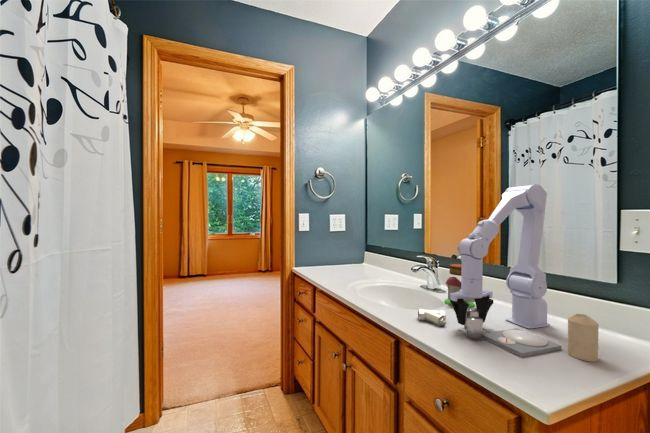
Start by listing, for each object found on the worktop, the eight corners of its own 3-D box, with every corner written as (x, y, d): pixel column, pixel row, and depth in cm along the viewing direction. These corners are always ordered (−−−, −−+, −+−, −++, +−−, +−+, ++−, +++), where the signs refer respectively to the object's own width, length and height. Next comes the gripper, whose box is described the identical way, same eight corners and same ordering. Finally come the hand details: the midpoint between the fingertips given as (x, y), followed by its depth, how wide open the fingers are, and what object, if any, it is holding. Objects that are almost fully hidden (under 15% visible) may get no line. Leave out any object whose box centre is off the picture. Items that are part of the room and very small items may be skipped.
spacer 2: (474, 334, 81) (474, 315, 82) (486, 340, 78) (486, 320, 78) (463, 336, 80) (463, 316, 80) (474, 342, 76) (474, 321, 76)
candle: (601, 364, 65) (601, 321, 65) (570, 357, 68) (570, 316, 68) (594, 354, 70) (594, 314, 70) (565, 349, 73) (566, 310, 73)
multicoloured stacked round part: (435, 299, 116) (435, 263, 116) (464, 299, 117) (464, 263, 118) (451, 309, 104) (451, 268, 104) (483, 308, 106) (483, 268, 106)
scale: (516, 331, 84) (516, 326, 84) (561, 349, 73) (561, 344, 73) (480, 337, 80) (480, 332, 80) (521, 357, 68) (521, 351, 68)
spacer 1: (471, 325, 89) (471, 307, 89) (481, 329, 85) (482, 311, 85) (461, 326, 88) (461, 308, 88) (471, 331, 84) (471, 312, 84)
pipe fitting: (447, 329, 87) (443, 320, 93) (448, 317, 86) (443, 308, 93) (420, 327, 88) (417, 317, 95) (420, 314, 88) (418, 306, 95)
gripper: (479, 274, 92) (478, 316, 92) (443, 276, 88) (442, 320, 88) (498, 278, 86) (498, 323, 86) (460, 281, 81) (459, 328, 81)
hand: (471, 322), depth 86 cm, fingers open, 7 cm apart
